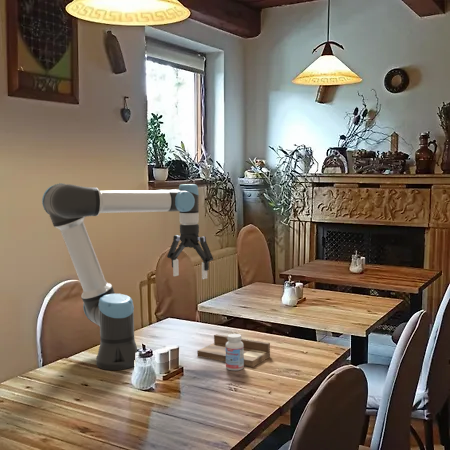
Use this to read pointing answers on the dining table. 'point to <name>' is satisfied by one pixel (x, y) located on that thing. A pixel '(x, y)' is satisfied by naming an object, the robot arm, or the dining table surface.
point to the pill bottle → (234, 352)
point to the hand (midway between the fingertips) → (190, 277)
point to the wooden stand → (252, 350)
